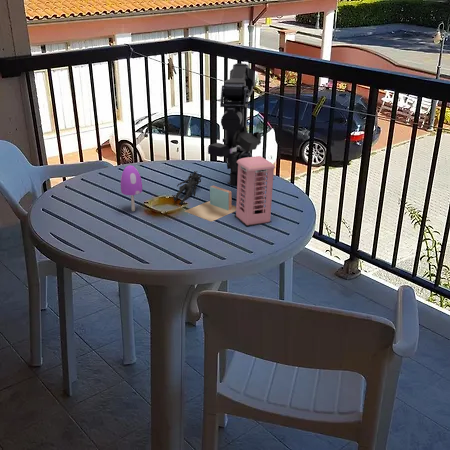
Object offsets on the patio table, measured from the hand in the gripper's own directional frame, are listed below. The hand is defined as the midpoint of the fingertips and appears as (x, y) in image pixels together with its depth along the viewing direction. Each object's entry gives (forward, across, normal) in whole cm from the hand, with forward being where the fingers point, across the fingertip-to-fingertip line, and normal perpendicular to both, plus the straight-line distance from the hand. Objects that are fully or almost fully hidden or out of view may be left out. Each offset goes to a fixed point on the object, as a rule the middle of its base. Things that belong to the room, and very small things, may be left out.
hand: (234, 170), depth 178 cm
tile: (+10, -7, 0) cm, 12 cm away
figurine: (+11, -7, +15) cm, 20 cm away
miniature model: (+11, -7, -14) cm, 20 cm away
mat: (+11, -10, 0) cm, 15 cm away
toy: (+11, -27, +19) cm, 35 cm away
